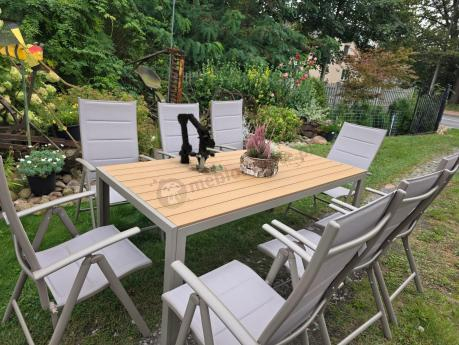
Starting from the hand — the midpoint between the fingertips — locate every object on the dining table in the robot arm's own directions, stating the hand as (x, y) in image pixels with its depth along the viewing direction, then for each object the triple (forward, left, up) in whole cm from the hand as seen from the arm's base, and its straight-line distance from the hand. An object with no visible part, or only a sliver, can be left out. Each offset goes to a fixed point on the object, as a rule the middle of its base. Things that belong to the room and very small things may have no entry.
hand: (201, 165), depth 227 cm
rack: (0, 0, -3) cm, 3 cm away
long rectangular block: (0, 0, -3) cm, 3 cm away
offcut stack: (0, -8, -3) cm, 9 cm away
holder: (+13, 0, -3) cm, 13 cm away
